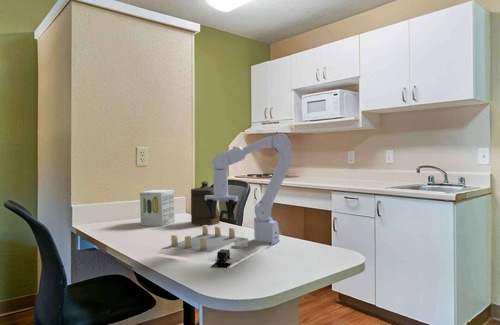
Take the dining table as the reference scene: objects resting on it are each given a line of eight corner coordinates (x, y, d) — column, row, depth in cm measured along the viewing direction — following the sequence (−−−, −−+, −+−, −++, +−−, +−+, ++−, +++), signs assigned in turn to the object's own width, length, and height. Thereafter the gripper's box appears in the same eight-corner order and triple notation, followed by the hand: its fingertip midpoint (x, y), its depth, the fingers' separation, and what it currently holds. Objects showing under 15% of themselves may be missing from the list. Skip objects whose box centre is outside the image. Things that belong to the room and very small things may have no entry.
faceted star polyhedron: (251, 248, 132) (251, 238, 132) (244, 251, 128) (243, 241, 128) (239, 246, 135) (238, 237, 135) (231, 249, 131) (231, 240, 131)
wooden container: (225, 222, 185) (224, 180, 185) (202, 226, 175) (201, 182, 174) (208, 219, 196) (207, 180, 195) (185, 223, 186) (184, 181, 185)
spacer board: (243, 239, 145) (243, 227, 145) (210, 255, 124) (210, 240, 124) (204, 235, 154) (204, 224, 154) (167, 249, 133) (166, 236, 133)
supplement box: (139, 225, 182) (138, 192, 182) (153, 220, 195) (153, 189, 195) (162, 226, 179) (161, 192, 178) (175, 221, 191) (174, 189, 191)
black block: (220, 258, 121) (220, 245, 121) (240, 260, 119) (240, 246, 119) (206, 270, 109) (205, 255, 109) (227, 271, 107) (227, 256, 107)
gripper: (199, 185, 140) (201, 219, 140) (231, 185, 133) (232, 221, 133) (209, 183, 146) (210, 216, 146) (240, 184, 139) (241, 218, 140)
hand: (221, 218), depth 140 cm, fingers open, 7 cm apart
